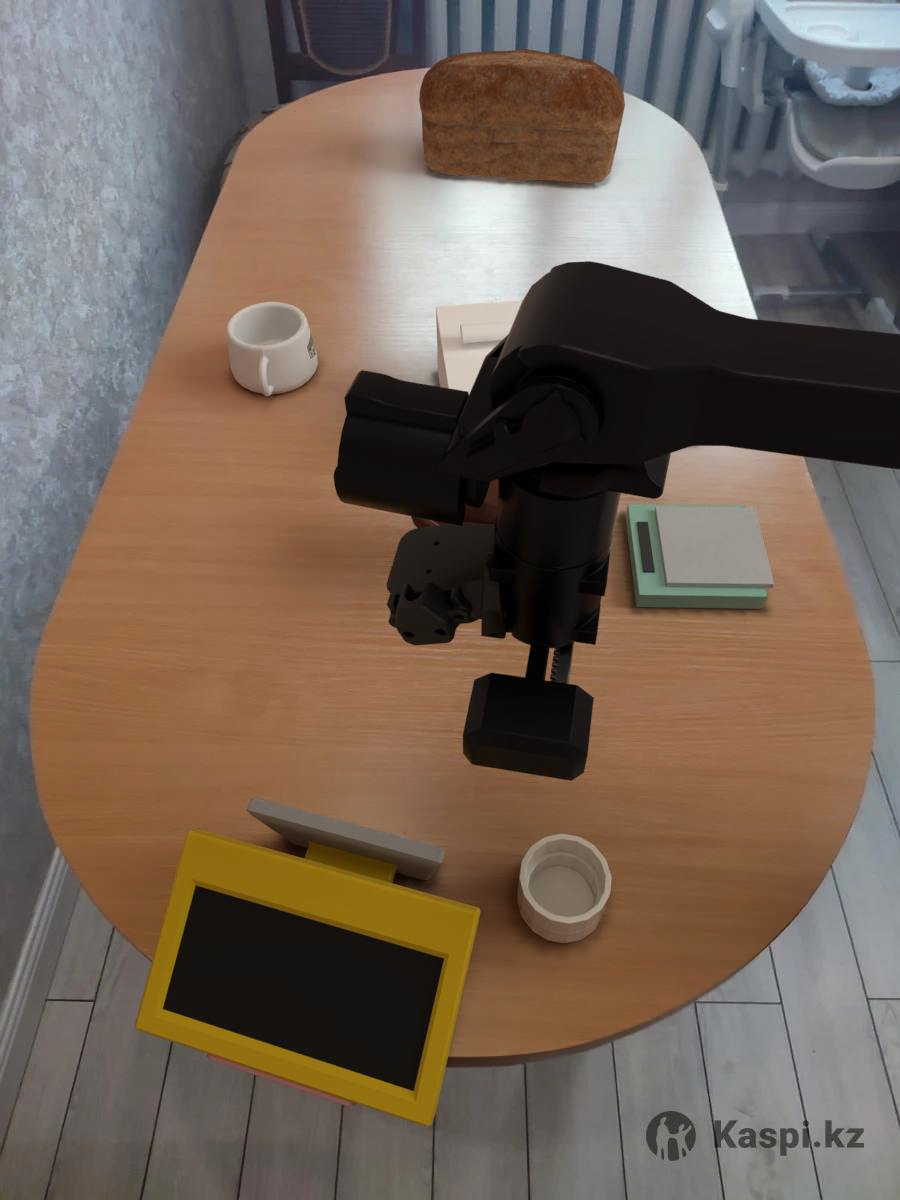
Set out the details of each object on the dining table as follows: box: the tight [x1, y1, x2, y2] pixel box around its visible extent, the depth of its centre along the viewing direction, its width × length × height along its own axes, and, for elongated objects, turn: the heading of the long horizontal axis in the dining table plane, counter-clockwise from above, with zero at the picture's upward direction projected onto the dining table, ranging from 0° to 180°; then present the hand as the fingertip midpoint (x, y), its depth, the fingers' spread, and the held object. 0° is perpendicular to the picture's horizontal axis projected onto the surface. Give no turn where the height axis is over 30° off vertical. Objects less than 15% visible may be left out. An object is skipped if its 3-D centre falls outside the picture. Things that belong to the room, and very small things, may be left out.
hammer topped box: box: [435, 299, 523, 396], centre depth 91 cm, size 14×25×11 cm, turn 96°
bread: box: [418, 48, 626, 184], centre depth 123 cm, size 12×28×14 cm, turn 80°
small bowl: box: [516, 833, 613, 944], centre depth 61 cm, size 6×6×5 cm
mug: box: [226, 301, 319, 397], centre depth 97 cm, size 12×10×6 cm
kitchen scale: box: [624, 503, 775, 610], centre depth 81 cm, size 12×11×2 cm
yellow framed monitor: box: [134, 796, 482, 1128], centre depth 58 cm, size 20×8×16 cm
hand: (537, 695), depth 56 cm, fingers open, 9 cm apart
